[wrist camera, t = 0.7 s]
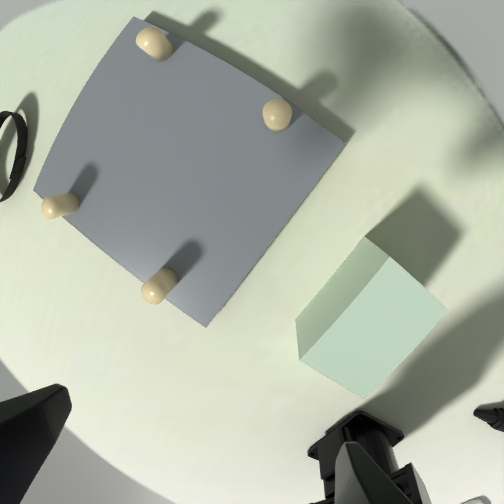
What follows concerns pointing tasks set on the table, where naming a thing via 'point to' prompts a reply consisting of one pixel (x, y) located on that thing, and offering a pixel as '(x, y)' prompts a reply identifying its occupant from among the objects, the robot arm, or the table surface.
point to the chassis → (181, 167)
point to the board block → (365, 320)
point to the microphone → (492, 417)
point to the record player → (474, 502)
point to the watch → (20, 151)
